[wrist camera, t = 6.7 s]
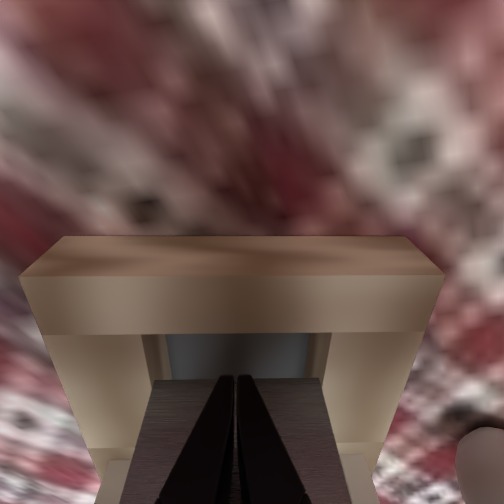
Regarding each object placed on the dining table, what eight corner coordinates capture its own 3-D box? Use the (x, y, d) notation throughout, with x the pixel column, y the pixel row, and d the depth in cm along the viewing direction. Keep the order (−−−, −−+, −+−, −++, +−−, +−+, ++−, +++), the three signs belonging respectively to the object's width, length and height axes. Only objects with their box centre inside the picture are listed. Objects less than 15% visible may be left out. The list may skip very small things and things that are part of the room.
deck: (156, 545, 27) (147, 596, 24) (64, 235, 13) (18, 276, 10) (321, 540, 27) (329, 589, 24) (405, 236, 13) (446, 275, 11)
